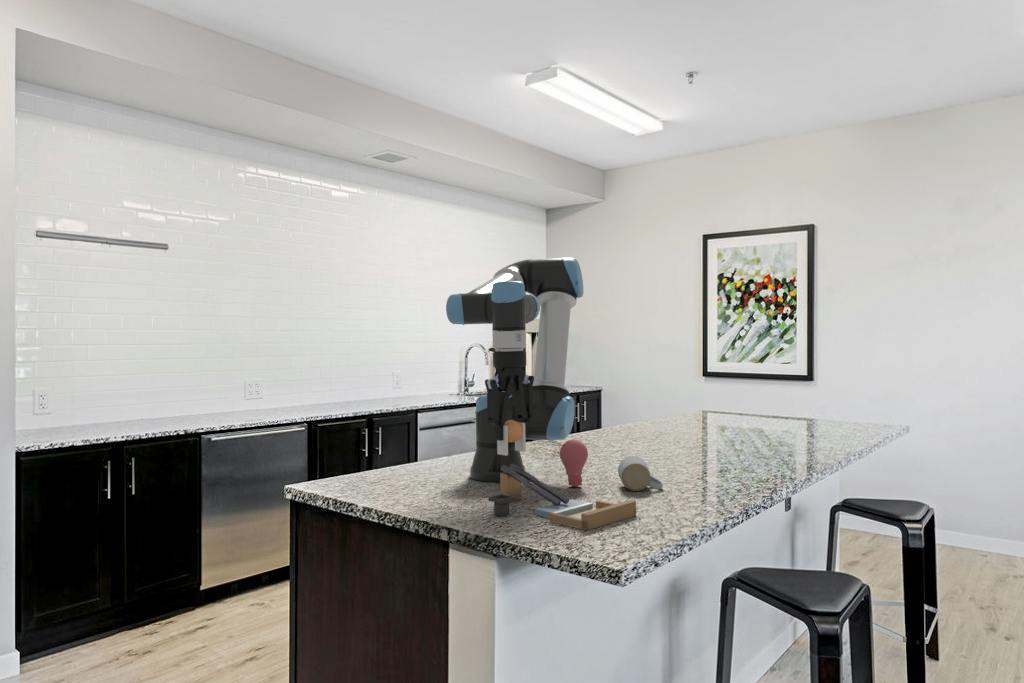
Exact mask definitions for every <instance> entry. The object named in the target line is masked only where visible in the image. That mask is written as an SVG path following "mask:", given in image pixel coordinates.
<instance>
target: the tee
mask: <svg viewBox="0 0 1024 683" xmlns="http://www.w3.org/2000/svg"><path fill="white" fill-rule="evenodd" d="M487 498H488V499H487V500H488V502H491V503H494V504H493V507H494V508H493V510H494V511H493V516H495V515H496V516H495V517H497V516H506V517H508V516H507V515H509V516H510V502H511V503H512V502H515V497H513V496H509V495H504V494H497V495H496V494H495V495H491V496H489V497H487Z"/></svg>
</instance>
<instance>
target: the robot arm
mask: <svg viewBox="0 0 1024 683" xmlns="http://www.w3.org/2000/svg"><path fill="white" fill-rule="evenodd" d="M583 281H584V280H583V274H582V269H581V266H580V262H579V261H578V260H577V258H574V257H564V256H561V257H557V258H554V257H553V258H534V259H533V258H530V259H524V260H519V261H516V262H513V263H512V264H509V265H506V266H505V267H502V268H501V269H499V270H497V272H495V273H494V275H493V277H492V278H491V279H489V280H488V281H486V282H484V283H483V284H481V285H479V286H478V287H475V288H474V289H472V290H471V291H469V292H467V293H461V292H459V293H454V294H453V293H452V294H450V295H449V296H448V297H447V300H446V305H445V311H446V317H447V319H448V321H449V322H450V323H451V324H453V325H462V326H464V325H482V324H483V325H484V324H485V325H492V328H491V330H492V348H493V349H494V350H495V351H493V352H492V366H493V367H494V369H495V371H494V372H495V373H494V375H493V377H492V378H490V379H488V378H487V379H485V380H484V385H485V389H486V394H483V395H480V396H478V397H477V398H476V403H475V405H476V406H475V437H476V439H475V442H476V445H475V446H476V448H475V452H474V456H473V461H472V464H471V465H470V469H469V470H470V471H469V477H470V478H471V479H473V480H476V481H481V482H496V483H497V482H499V483H500V473H504V472H503V471H502V470H501V467H502V465H505V466H507V467H508V468H509V466H510V465H511V464H512V463H513V464H515V465H516V466H518V467H519V468H521V469H523V470H524V471H526V467H525V465H524V463H523V459H522V455H521V452H523V453H524V452H526V451H527V448H526V447H527V444H526V442H527V441H526V440H536V441H537V440H539V441H540V440H541V441H548V442H552V441H561V440H562V441H563V440H565V439H566V438H568V436H569V435H570V434H571V431H572V428H573V426H574V420H575V414H576V413H575V408H576V407H575V406H576V405H575V404H576V403H575V399H574V398H573V397H572V396H570V391H569V389H568V388H566V387H565V386H566V385H565V381H566V370H567V360H568V358H567V356H568V348H569V347H568V345H569V334H570V332H569V331H570V322H571V321H570V318H571V309H573V308H574V307H575V306H576V305H577V299H581V298H582V297H583V296H584V282H583ZM538 316H539V319H538V320H539V323H538V332H537V340H536V341H537V342H536V350H535V351H536V352H535V362H534V373H533V375H528V374H526V371H525V367H527V351H526V350H524V349H526V346H527V341H526V340H527V339H526V338H527V337H526V333H527V332H526V330H527V329H526V328H527V326H526V324H529V323H530V322H531V323H532V322H533V321H534V320H536V319H537V317H538ZM508 420H514V421H516V422H518V423H519V424H520V425H521V427H522V435H521V437H520V439H519V440H517V441H516V442H508V426H504V425H505V422H506V421H508Z"/></svg>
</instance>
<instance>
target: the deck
mask: <svg viewBox="0 0 1024 683" xmlns="http://www.w3.org/2000/svg"><path fill="white" fill-rule="evenodd" d="M592 508H594V504H593V503H592V502H585V501H582V500H581V501H580V500H575V499H569V502H568V503H567V504H565V503H563V502H561V503H560V505H559V506H556V505H554V504H553V503H551V504H549V505H545V506H541V507H537V508H535V509H534V515H535V516H538V517H539V516H540V517H543V518H548V519H550V513H556V514H561V515H565V516H567V515H571V514H575V513H578V512H582V511H585V510H589V509H592Z"/></svg>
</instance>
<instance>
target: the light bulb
mask: <svg viewBox="0 0 1024 683" xmlns="http://www.w3.org/2000/svg"><path fill="white" fill-rule="evenodd" d="M588 457H589V451H588V448H587V446H586V445H585V443H583V442H582V441H580V440H578V439H569V440H567V441H565V442H564V443H563V444H562V445H561V447H560V449H559V459H560V461H561V464H563V466H564V469H565V474H566V475H567V483H568V486H571V487H573V488H576V487H579V486H581V485H583V476H582V474H583V468H584V467H585V466H586V463H587V460H588Z"/></svg>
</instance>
